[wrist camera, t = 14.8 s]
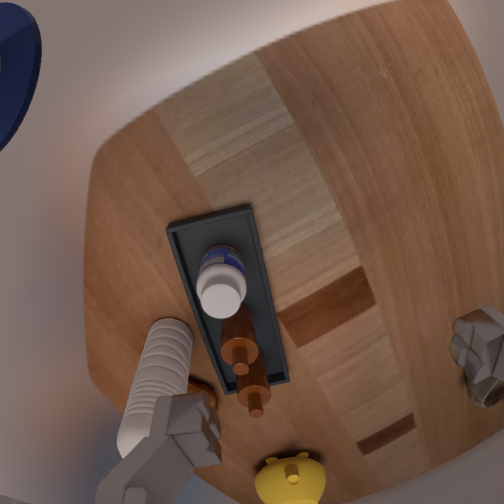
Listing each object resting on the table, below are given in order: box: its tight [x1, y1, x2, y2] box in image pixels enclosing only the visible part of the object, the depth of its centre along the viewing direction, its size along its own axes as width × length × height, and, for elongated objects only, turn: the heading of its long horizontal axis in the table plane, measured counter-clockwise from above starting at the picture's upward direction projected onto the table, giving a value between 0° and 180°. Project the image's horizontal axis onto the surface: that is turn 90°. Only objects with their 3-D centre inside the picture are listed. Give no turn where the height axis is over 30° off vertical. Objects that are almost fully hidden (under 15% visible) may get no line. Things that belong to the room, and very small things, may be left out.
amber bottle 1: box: [221, 303, 259, 375], centre depth 38 cm, size 4×4×11 cm
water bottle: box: [117, 318, 193, 458], centre depth 33 cm, size 9×6×25 cm
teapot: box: [254, 452, 326, 504], centre depth 52 cm, size 20×16×14 cm
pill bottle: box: [196, 245, 247, 318], centre depth 36 cm, size 5×5×10 cm
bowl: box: [467, 375, 504, 408], centre depth 49 cm, size 14×15×10 cm
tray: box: [166, 204, 290, 395], centre depth 42 cm, size 27×10×3 cm, turn 13°
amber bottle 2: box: [236, 351, 271, 418], centre depth 41 cm, size 4×4×11 cm
